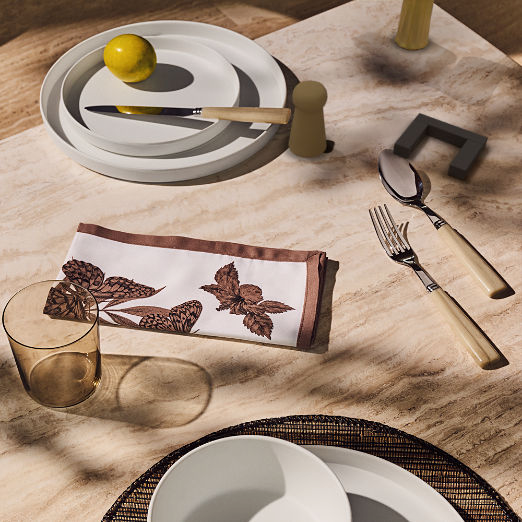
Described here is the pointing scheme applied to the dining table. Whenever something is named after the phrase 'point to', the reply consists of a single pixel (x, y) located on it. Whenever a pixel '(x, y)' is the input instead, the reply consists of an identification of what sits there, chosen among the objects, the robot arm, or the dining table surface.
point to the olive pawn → (308, 119)
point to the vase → (414, 24)
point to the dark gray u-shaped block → (446, 132)
